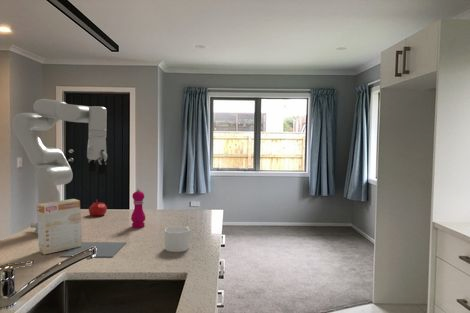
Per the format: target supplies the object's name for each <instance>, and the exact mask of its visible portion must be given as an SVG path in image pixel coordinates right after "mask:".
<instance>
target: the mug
mask: <svg viewBox="0 0 470 313" xmlns="http://www.w3.org/2000/svg"><path fill="white" fill-rule="evenodd" d="M190 234H191V227H190V226H171V227H166V228H165V229H164V247H165V248H164V250H165V251H167V252H170V253H171V252H172V253H180V252H181V253H183V252H186V251H188V250H189V249H190Z"/></svg>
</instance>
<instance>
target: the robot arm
mask: <svg viewBox="0 0 470 313" xmlns="http://www.w3.org/2000/svg"><path fill="white" fill-rule="evenodd" d="M32 108H33V111H34V112H21V113H17V114H16V115H15V116H14V117H13V120H12V129H13V133H14V135H15V136H16V139H17V140H18V141H19V143H20V144H21V145H22V147H23V149H24V151H25V154H26V155H27V157H28V160H29V161H30V163H31V164H32V166H33V167H36V168H39V169H37V170H36V172H35V175H34V177H35V179H34V180H35V183H36V189H37V204H39V203H46V202H54V201H61V194H60V191H59V189H58V188H57V186H61V185H67V184H70V183H71V182H72V180H73V175H74V174H73V171H72V168H71V165H70V164H69V162H68V160H67V158H66V156H65V155H64V153H63V151H62V150H61V149H60V148H57V147H53V146H52V147H47V146H45V145H44V143H43V140H42V139H41V138H40V136H39V135H37V134H36V133H35V132H33V131H41V132H42V131H45V132H46V131H48V130H50V129H52V128H53V127H54V126H55V125H56V124H57V123H58V122H59V121H65V122H69V123H71V122H73V123H82V124H83V123H85V124H88V138H87V139H88V140H87V150H86V157H87V158H86V159H88V160H87V161H88V172H90V173H91V172H96V171H97V173H98V174H99V175H101V174H103V175H104V174H106V173H107V170H106V169H107V161H108V154H107V127H108V126H107V124H108V123H107V120H108V119H107V118H108V116H107V113H108V111H107V108H106V107H104V106H98V105H97V106H96V105H94V106H93V105H92V106H88V105H80V104H79V105H78V104H71V103H70V104H69V103H67V102H65V101H61V100H55V99H49V98H39V99H37V100H36V101H34V103H33V105H32ZM96 161H98V166H97V162H96ZM97 167H98V168H97ZM30 228H35V229H34V234H37V235H38V222H31V223H30Z"/></svg>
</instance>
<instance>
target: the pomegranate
mask: <svg viewBox="0 0 470 313" xmlns="http://www.w3.org/2000/svg"><path fill="white" fill-rule="evenodd" d="M95 201H96V202H92V204H91V205H90V206H89V207H88V212H89V215H90V216H91V217H102V216H104V215H105V214H106V213H107V212H108V211H107V210H108V207H107V205H106V204H105V203H103V202H102V201H100V202H98V201H99V200H98V199H95Z"/></svg>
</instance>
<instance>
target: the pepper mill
mask: <svg viewBox="0 0 470 313" xmlns="http://www.w3.org/2000/svg"><path fill="white" fill-rule="evenodd" d="M132 199H133V201H132V202H133V205H134V207H133V208H134V209H133V210H132V214H131V218H130V220H131V222H132V223H131V227H132V228H135V229H140V228H144V227H145V220H146V214H145V212H144V209H143V204H144V199H145V193H144V192H143V191H141V189H140V187H138V188H137V189H136V191H134V192H133V193H132Z"/></svg>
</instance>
